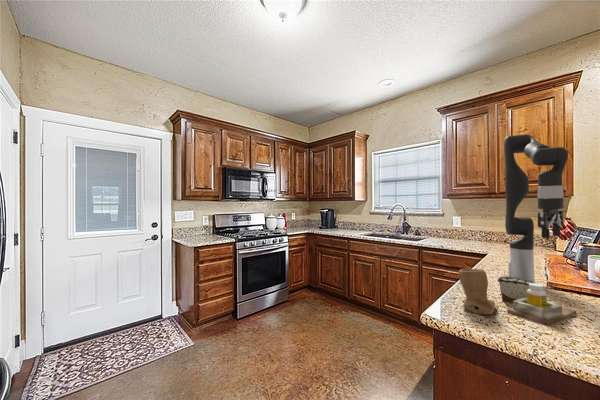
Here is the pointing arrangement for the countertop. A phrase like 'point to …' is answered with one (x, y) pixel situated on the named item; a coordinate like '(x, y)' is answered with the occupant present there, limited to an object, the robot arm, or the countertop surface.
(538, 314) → the bottle holder
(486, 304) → the tan boot
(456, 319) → the countertop surface
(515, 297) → the food container
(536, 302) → the supplement bottle
